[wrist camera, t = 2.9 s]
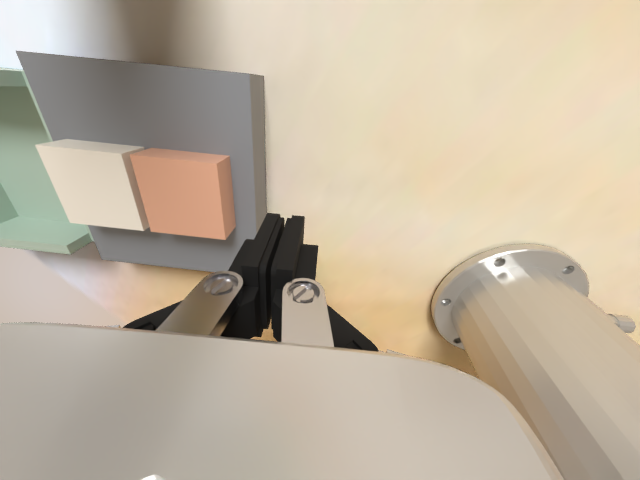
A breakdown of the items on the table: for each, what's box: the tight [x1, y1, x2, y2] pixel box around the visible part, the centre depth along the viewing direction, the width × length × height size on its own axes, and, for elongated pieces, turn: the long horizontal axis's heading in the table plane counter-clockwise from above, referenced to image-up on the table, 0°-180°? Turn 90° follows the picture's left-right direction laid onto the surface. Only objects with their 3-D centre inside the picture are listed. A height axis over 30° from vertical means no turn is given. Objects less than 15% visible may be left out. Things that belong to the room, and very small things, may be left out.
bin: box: [0, 68, 94, 254], centre depth 18 cm, size 9×12×5 cm
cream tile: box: [35, 139, 150, 231], centre depth 17 cm, size 5×5×2 cm
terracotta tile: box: [130, 148, 236, 240], centre depth 17 cm, size 5×5×2 cm
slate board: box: [16, 51, 267, 272], centre depth 19 cm, size 13×14×3 cm
